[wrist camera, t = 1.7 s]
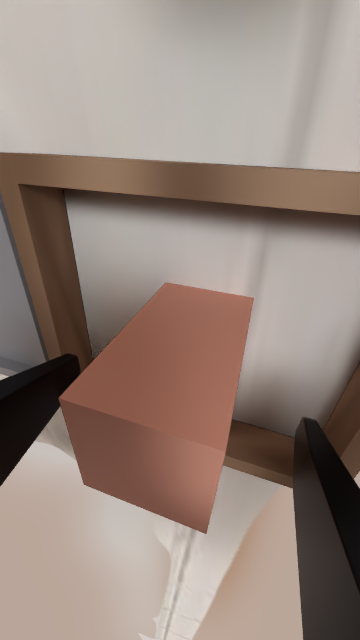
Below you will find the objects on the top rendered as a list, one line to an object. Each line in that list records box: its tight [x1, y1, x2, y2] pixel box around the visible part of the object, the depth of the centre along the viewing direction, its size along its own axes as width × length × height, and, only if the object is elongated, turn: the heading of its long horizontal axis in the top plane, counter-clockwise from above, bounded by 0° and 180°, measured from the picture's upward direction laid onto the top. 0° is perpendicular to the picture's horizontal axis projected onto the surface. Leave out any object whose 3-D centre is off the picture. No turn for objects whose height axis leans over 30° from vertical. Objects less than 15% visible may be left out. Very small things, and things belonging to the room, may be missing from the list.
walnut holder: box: [0, 152, 360, 488], centre depth 13 cm, size 17×15×2 cm
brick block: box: [59, 283, 254, 534], centre depth 11 cm, size 4×4×8 cm
